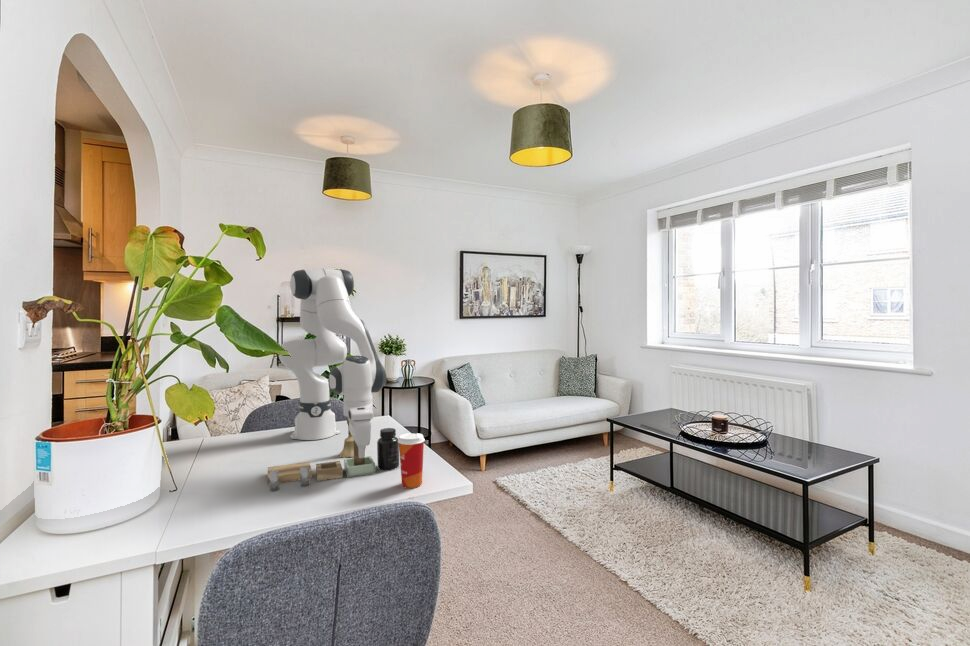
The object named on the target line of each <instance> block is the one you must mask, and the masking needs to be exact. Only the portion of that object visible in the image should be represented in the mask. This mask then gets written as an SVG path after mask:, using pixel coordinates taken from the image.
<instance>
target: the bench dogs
mask: <svg viewBox="0 0 970 646" xmlns="http://www.w3.org/2000/svg"><path fill="white" fill-rule="evenodd" d="M269 479H270V485H269V491H270V492H276V491H279V490H280V483H279V471H278V470H274V471H270V472H269ZM299 481H300V482H299V483H300V486H301V487H308V486H310V485H311V484H310V478H309V467H308V466H304V467H301V468H300V480H299Z"/></svg>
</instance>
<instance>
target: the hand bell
mask: <svg viewBox="0 0 970 646" xmlns="http://www.w3.org/2000/svg"><path fill="white" fill-rule="evenodd" d="M346 423H347V426H348V427H347V429H348V431H347V432H348V436H347V438H345V439H344V442H343V447H342V450H341V451H340V453H339V455H338V457H340V456H341V457H340V458H343V457H347V458H346V459H350V458H349V457H352V458H354V442H353V437H352V435H351V433H350V431H349V421H348V417H346Z"/></svg>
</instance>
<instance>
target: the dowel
mask: <svg viewBox="0 0 970 646" xmlns="http://www.w3.org/2000/svg"><path fill="white" fill-rule="evenodd" d="M365 457H366V456H365ZM365 457H364V458H359V457H358V446H357V444H356V442H355V440H354V457H353V458H354V466H358V465H365Z"/></svg>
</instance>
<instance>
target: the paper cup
mask: <svg viewBox="0 0 970 646" xmlns="http://www.w3.org/2000/svg"><path fill="white" fill-rule="evenodd" d="M425 441H426V440H425V438H424V434H422V433H418V432H417V433H416V432H412V433H408V432H407V433H403V434H401V435H399V436H398V443H399V466H400V477H401V485H402V487H403V488H404V487H406V489H415V488H414V487H417V488H419V487H421V486H422V485H423V473H424V472H423V467H424V447H425V446H424V443H425ZM421 484H422V485H421ZM420 485H421V486H420ZM418 486H419V487H418Z"/></svg>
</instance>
